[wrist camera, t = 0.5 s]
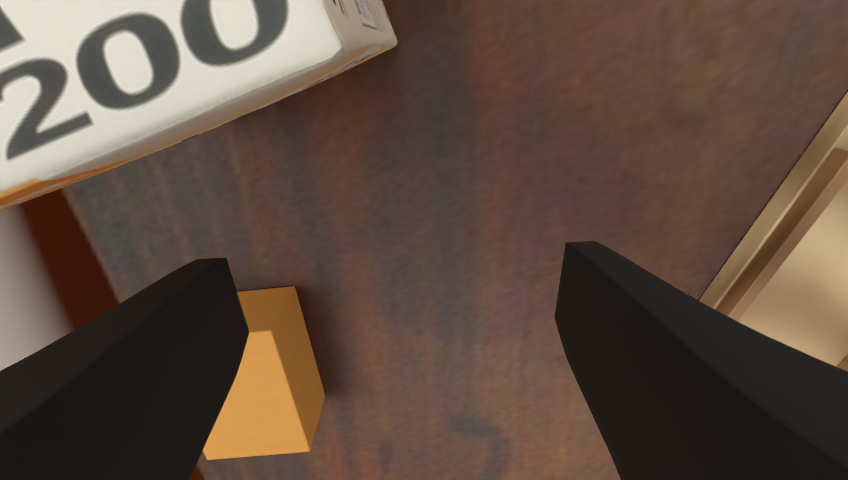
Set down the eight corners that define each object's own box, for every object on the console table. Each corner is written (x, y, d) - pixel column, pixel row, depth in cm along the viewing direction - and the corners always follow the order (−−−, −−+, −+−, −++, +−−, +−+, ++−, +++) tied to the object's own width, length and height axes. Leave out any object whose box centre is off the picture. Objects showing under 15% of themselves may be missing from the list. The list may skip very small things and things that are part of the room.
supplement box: (215, 128, 17) (-246, 319, 5) (142, 0, 15) (-819, -142, 3) (406, 49, 16) (354, 69, 4) (352, -101, 14) (-26, -851, 2)
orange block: (326, 395, 23) (310, 451, 20) (236, 403, 24) (207, 460, 20) (294, 285, 20) (271, 330, 17) (193, 295, 21) (151, 341, 17)
